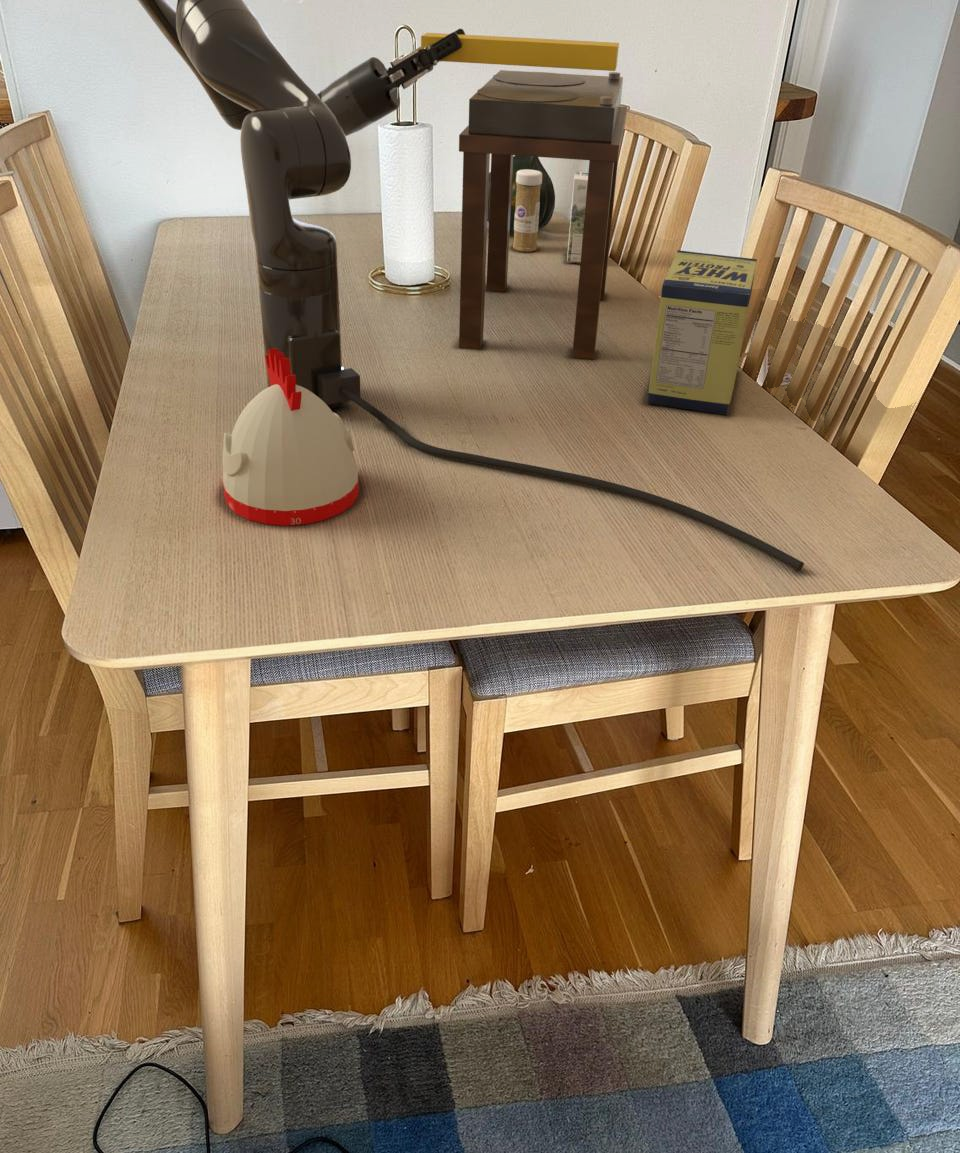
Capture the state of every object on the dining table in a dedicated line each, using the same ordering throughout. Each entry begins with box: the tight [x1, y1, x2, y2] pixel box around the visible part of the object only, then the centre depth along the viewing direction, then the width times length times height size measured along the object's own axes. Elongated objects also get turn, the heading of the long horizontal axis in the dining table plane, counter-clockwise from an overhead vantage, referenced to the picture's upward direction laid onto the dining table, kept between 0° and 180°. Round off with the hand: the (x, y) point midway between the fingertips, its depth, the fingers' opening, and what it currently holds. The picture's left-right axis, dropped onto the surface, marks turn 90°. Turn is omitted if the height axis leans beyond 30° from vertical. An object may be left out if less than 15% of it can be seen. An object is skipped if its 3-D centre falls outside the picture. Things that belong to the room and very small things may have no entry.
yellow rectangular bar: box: [420, 32, 620, 72], centre depth 140 cm, size 27×4×3 cm, turn 81°
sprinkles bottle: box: [512, 169, 542, 253], centre depth 181 cm, size 5×5×13 cm
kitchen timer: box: [221, 348, 360, 526], centre depth 102 cm, size 14×14×15 cm
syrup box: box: [566, 171, 589, 265], centre depth 176 cm, size 6×6×14 cm
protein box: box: [646, 249, 758, 416], centre depth 129 cm, size 10×16×16 cm
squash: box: [487, 155, 556, 235], centre depth 192 cm, size 14×15×15 cm
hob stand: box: [458, 69, 628, 360], centre depth 144 cm, size 20×30×33 cm, turn 171°
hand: (461, 37), depth 140 cm, fingers closed on yellow rectangular bar, 4 cm apart
